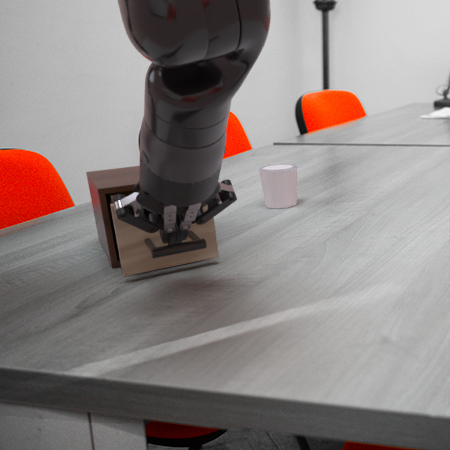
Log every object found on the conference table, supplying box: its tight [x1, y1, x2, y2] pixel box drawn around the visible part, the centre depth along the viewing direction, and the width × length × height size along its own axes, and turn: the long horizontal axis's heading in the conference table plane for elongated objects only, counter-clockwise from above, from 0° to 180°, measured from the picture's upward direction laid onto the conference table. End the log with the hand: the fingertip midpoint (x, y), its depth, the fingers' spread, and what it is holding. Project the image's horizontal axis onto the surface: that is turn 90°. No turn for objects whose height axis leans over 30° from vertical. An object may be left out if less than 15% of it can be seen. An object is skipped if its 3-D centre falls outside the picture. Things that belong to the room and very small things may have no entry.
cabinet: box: [85, 165, 140, 269], centre depth 82 cm, size 15×13×11 cm
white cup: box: [258, 163, 298, 210], centre depth 103 cm, size 7×7×7 cm
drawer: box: [105, 190, 220, 277], centre depth 73 cm, size 20×11×9 cm, turn 33°
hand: (172, 239), depth 68 cm, fingers closed
